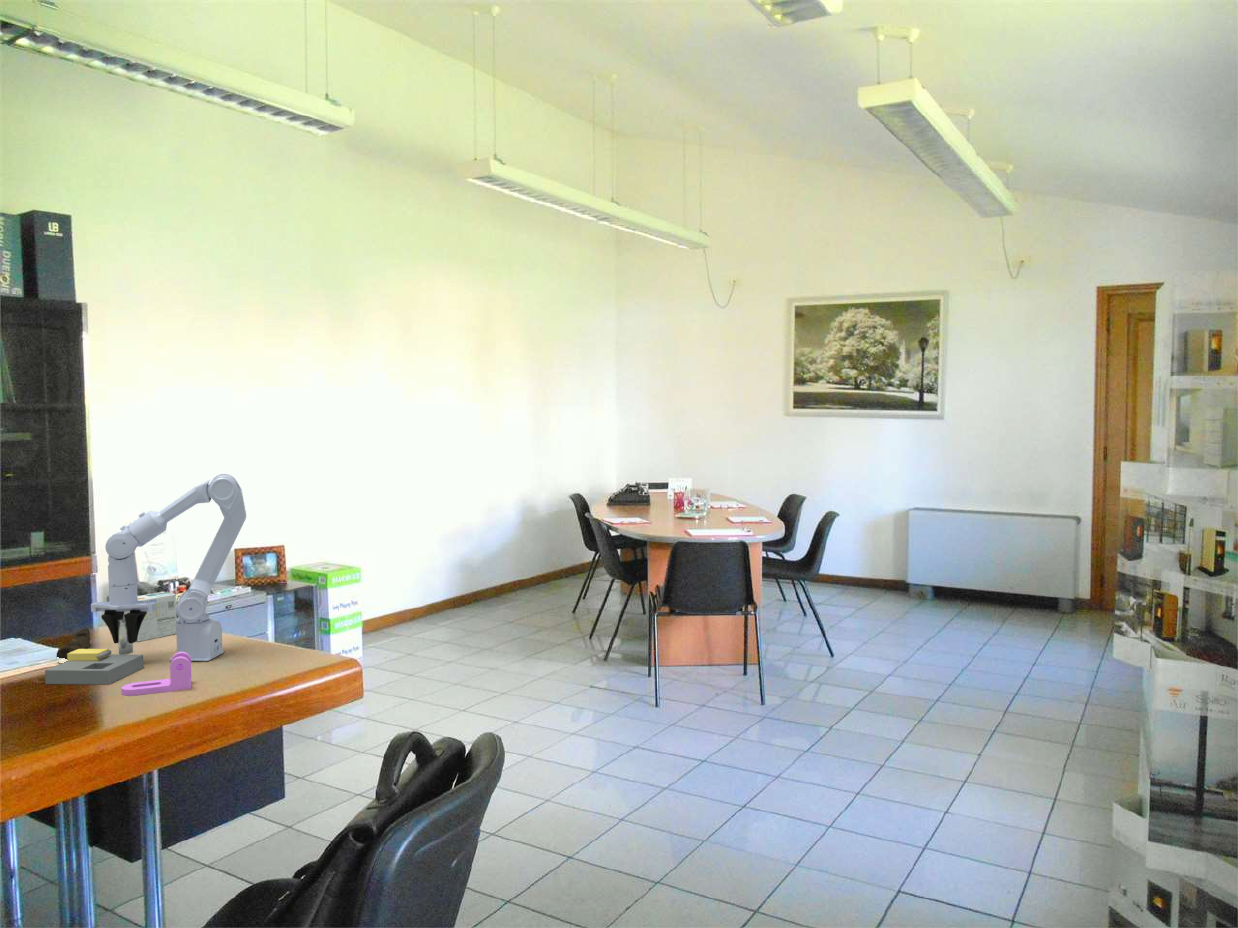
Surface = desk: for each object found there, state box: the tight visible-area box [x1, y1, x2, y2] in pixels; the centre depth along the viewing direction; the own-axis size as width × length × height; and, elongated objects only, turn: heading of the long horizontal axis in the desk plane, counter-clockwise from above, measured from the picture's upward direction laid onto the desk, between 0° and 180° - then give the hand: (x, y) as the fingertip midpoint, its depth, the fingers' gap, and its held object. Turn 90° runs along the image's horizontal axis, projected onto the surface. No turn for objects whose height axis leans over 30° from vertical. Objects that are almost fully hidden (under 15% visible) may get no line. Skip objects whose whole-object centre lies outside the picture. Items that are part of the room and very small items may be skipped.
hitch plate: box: [44, 653, 145, 686], centre depth 201 cm, size 14×13×3 cm
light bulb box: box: [124, 591, 178, 643], centre depth 236 cm, size 11×7×11 cm, turn 144°
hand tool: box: [56, 628, 91, 659], centre depth 220 cm, size 19×4×5 cm, turn 14°
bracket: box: [120, 652, 193, 697], centre depth 190 cm, size 13×6×7 cm, turn 113°
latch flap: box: [67, 648, 112, 661], centre depth 204 cm, size 8×4×2 cm, turn 87°
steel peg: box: [117, 616, 134, 655], centre depth 210 cm, size 3×3×8 cm
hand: (125, 642), depth 210 cm, fingers closed on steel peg, 3 cm apart
